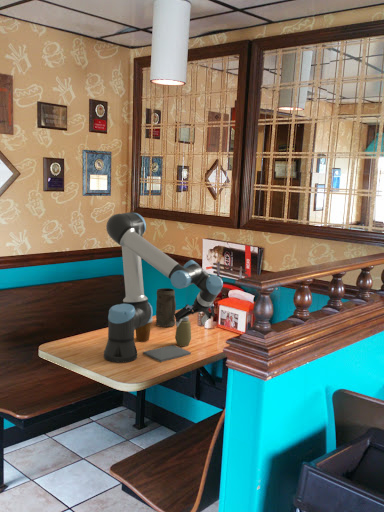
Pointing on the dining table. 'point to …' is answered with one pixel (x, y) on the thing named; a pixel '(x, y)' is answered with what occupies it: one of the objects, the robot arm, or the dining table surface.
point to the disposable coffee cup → (144, 332)
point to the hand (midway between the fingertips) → (189, 323)
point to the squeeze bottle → (183, 332)
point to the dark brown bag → (165, 307)
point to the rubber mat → (166, 353)
